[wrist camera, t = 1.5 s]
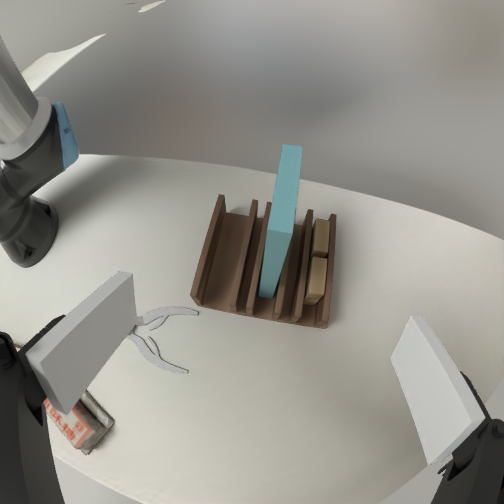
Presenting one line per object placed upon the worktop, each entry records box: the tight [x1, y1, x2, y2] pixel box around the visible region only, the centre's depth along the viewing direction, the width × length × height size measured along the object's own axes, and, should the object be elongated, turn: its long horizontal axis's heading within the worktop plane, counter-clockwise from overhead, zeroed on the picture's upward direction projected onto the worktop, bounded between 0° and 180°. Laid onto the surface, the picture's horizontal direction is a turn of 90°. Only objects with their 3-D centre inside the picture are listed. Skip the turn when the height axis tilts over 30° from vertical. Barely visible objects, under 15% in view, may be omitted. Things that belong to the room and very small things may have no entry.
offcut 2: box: [303, 257, 327, 306], centre depth 37 cm, size 2×5×6 cm, turn 169°
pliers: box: [126, 307, 198, 374], centre depth 38 cm, size 10×2×15 cm
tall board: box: [259, 143, 303, 299], centre depth 33 cm, size 2×10×20 cm, turn 169°
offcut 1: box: [308, 218, 330, 265], centre depth 40 cm, size 2×5×6 cm, turn 169°
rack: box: [190, 194, 336, 329], centre depth 40 cm, size 19×16×6 cm
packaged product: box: [43, 390, 114, 455], centre depth 30 cm, size 18×5×10 cm
